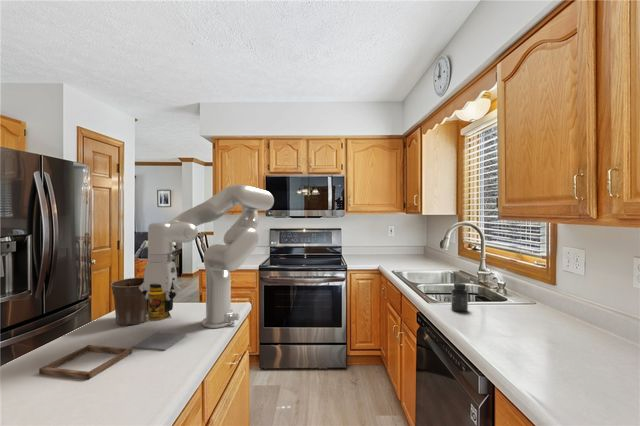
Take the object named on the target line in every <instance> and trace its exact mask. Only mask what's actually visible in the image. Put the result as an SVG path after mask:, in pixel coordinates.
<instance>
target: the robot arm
mask: <svg viewBox="0 0 640 426" xmlns="http://www.w3.org/2000/svg"><path fill="white" fill-rule="evenodd" d="M274 203H275V198H274V196H273V194H272V193H271V192H270V191H268V190H265V189H261V188H258V187H254V186H252V185H248V184H247V185H246V184H235V185H228V186H227V187H225V188H223V189H222V190H220V191H218V192H217V193H216V194H214V195H213V196H211V197H210V198H208V199H206V201H203V202H202V203H199V204H197V205H195V206H193V207H191V208H189V209H187V210H185V211H183V212H182V213H180V214H178V215H177V216H175V217H173V218H172V219H171V220H169V221H168V222H152V223H149V224H148V227H147V262H146V263H145V267H144V274H143V278H144V282H143V283H142V284H141V286H140V287H139V289H140V290H141V291H142V293H143V294H144V296H145V299H147V311H148V301H149V300H148V298H149V296H148V294H149V292H150V284H153V285H161V289H162V292H165V296H166V299H167V300H166V301H165V312H169V313H170V311H172V310H173V309H174V299H175V298H176V296H177V295H178V294H179V293H180V292H181V291H182V287H181V286H180V285H179V284H178V272H177V266H176V263H175V261H173V260H175V259H176V255H173V254H174V253H173V243H183V244H184V243H185V244H187V243H190V242H193V241H194V240H195V239H196V238H197V236H198V235H199V233H198V232H199V231H198V228H197V227H199V226H200V225H203V224H207V223H212V222H215V221H217V220H219V219H220V218H221V217H223V216H225V214H227V213H228V212H230V211H231V210H233V209H234V208H235V207H237V206H241V214H240V216H239V218H238V219H237V220H236V221H235V222H234V223H232V225H231V226H230V227H229V229H228V230H227V231H226V232H225V233H224V236H223V242H224V244H218V243H217V244H216V243H215V244H212V245H210V246H208V247H207V248H206V249H205V251H204V253H203V263H204V264H203V266H204V269H205V317H204V318H203V319H202V320H201V325H202V327H205V328H209V329H219V328H224V327H227V326H230V325H232V324H233V323H234V322H235V321H240V318H241V317H240V313H234V309H231V307H232V306H231V305H232V300H231V299H232V295H231V291H232V288H231V287H232V285H231V283H232V281H231V279H232V277H231V276H232V275H231V273H230V272H233V271H236V270H238V269H239V268H240V267H241V266H242V265H243V264H244V263H245V262H246V261H247V259H248V258H249V257H250V256H251V254H252V253H253V252H254V251H255V249H256V248H257V246H258V244H259V242H260V241H259V240H260V236H259V233H258V231H257V230H256V229H257V227H258V226H259V214H258V211H268V210H270V209H272V208H273V206H274Z"/></svg>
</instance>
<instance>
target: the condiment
mask: <svg viewBox="0 0 640 426" xmlns="http://www.w3.org/2000/svg"><path fill="white" fill-rule="evenodd" d="M148 296H149V298H148V300H149V301H148V315H146V319H147V321H146V322H147V323H154V322H159V321H166V320H169V319H172V316H171V313H170V311H169V312H165V301H166V300H167V299H166V296H165V292H162V289H161V285H153V284H150V292H149V294H148Z"/></svg>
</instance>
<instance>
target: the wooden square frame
mask: <svg viewBox="0 0 640 426" xmlns="http://www.w3.org/2000/svg"><path fill="white" fill-rule="evenodd" d="M87 352H88V353H89V352H93V353H102V354H103V353H104V354H114V355H115V356H113V357H112V358H110V359H109V360H107V361H105V362H103V363H102V364H100V365H98V366H96V367H94V368H93V369H91V370H89V371H84V370H75V369H67V368H66V369H65V368H58V367H59V366H62V365H64V364H66V363H68V362H70V361H72V360H73V359H76V358H78V357H79V356H82V355H83V354H85V353H87ZM132 353H133V348H125V347H115V346H104V345H102V346H101V345H93V344H87V345H85V346H83V347H82V348H79V349H77V350H75V351H73V352H71V353H69V354H67V355H64V356H62V357H60V358H59V359H56V360H55V361H51V362H50V363H48V364H46V365H44V366H42V367H40V368H38V373H39V375H45V376H53V377H64V378H70V379H79V380H80V379H81V380H90V379H92V378H94V377H95V376H97V375H99V374H101V373H102V372H103V371H106V370H107V369H109V368H111V367H112V366H114V365H116V364H117V363H118V362H120V361H122V360H123V359H125V358H127V357H128V355H129V356H131V355H132Z"/></svg>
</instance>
